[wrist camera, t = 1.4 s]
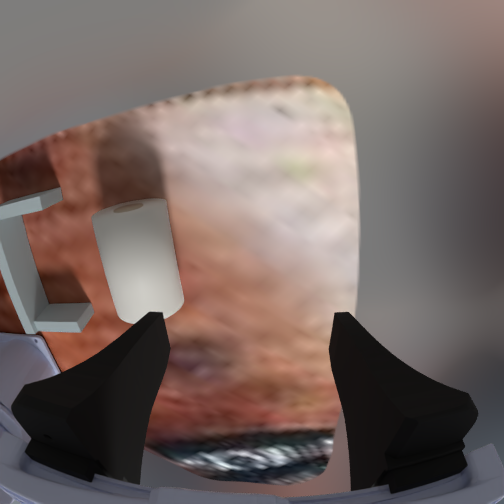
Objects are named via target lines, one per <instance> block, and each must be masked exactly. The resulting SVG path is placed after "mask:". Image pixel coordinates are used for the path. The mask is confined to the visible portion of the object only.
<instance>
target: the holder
mask: <svg viewBox="0 0 504 504" xmlns="http://www.w3.org/2000/svg"><path fill="white" fill-rule="evenodd" d="M61 200H63V198H62V192H61V187H60V188H55V189H51V190H47V191H43V192H39V193H35V194H31V195H28V196H24V197H20V198H17V199H13V200H10V201H7V202H5V203H3V204H0V270H1V273H2V276H3V279H4V281H5V284H6V287H7V289H8V292H9V295H10V297H11V300H12V302H13V305H14V307H15V309H16V312H17V314H18V317H19V319H20V321H21V323H22V325H23V328H24V330H25V332H26V334H36V333H37V332H38V331H48V332H82V330H83V329H84V327H85V326H86V324H87V323H88V321H89V320H90V318H91V317H92V315H93V314H94V310H93V307H92V304H91V303H64V304H49V302H48V300H47V297H46V294H45V291H44V289H43V286H42V283H41V280H40V277H39V274H38V271H37V268H36V265H35V262H34V259H33V255H32V252H31V248H30V245H29V241H28V238H27V234H26V230H25V226H24V222H23V218H22V215H23V214H27V213H32V212H36V211H41V210H44V209H45V208H47V207H49V206H51V205H53V204H55V203H57V202H59V201H61Z"/></svg>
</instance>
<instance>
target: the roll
mask: <svg viewBox="0 0 504 504" xmlns="http://www.w3.org/2000/svg"><path fill="white" fill-rule="evenodd" d="M91 218H92V223H93V227H94V232H95V236H96V240H97V244H98V248H99V252H100V256H101V260H102V264H103V267H104V271H105V275H106V278H107V281H108V285H109V288H110V292H111V295H112V298H113V301H114V304H115V308H116V311H117V314H118V316H119V317H120V319H122V320H123V321H125V322H128V323H132V324H135V323H136V322H137V321H139V320H140V319H141V318H142V317H143V316H144V315H146V314H147V313H148V312H163V316H164V319H165V318H167V317H169V316H171V315H173V314H174V313H175V312H177V311H178V310H179V309H180V308H181V306H182V305H183V303H184V296H183V291H182V286H181V281H180V276H179V271H178V266H177V261H176V255H175V250H174V244H173V239H172V233H171V227H170V221H169V215H168V209H167V202H166V200H165V199H161V198H149V199H141V200H134V201H129V202H125V203H121V204H117V205H114V206H111V207H108V208H105V209H103V210H100V211H98V212H97V213H95V214H94V215H93V216H92V217H91Z"/></svg>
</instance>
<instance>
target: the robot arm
mask: <svg viewBox="0 0 504 504" xmlns="http://www.w3.org/2000/svg"><path fill="white" fill-rule="evenodd" d="M169 353H170V344H169V339H168V335H167V330H166V326H165V321H164V316H163V312H148V313H147V314H146V315H144V316H143V317H142V318H141V319H140V320H139V321H137V322H136V323H135V324H134V325H133V326H132V327H130V328H129V329H128V330H127V331H126V332H125V333H123V334H122V335H121V336H120V337H119V338H117V339H116V340H115V341H113V342H112V343H111V344H109V345H108V346H107V347H106V348H104V349H103V350H101V351H100V352H98V353H97V354H95V355H94V356H92V357H91V358H89V359H87V360H86V361H84V362H82V363H80V364H78V365H76V366H74V367H72V368H70V369H68V370H66V371H64V372H62V373H61V372H60V370H59V368H58V366H57V364H56V362H55V361H54V359H53V357H52V355H51V353H50V351H49V349H48V347H47V345H46V342H45V340H44V339H43V337H42V336H40V335H26V334H12V333H0V504H12V502H14V500H16V501H18V502H20V503H21V504H496V503H497V502H498V501H500V500H501V499H502V498H504V467H503V465H502V463H501V461H500V458H499V456H498V454H497V451H496V449H495V447H494V445H493V444H488V445H486V446H484V447H481V448H479V449H476V450H474V451H472V452H470V453H468V454H467V455H465V456H464V454H463V452H462V450H463V449H464V448H465V445H464V442H463V440H462V439H463V438H464V437H465V435H466V434H467V433H468V431H469V430H470V429H471V428H472V426H473V425H474V423H475V422H476V420H477V416H478V410H477V408H476V406H475V405H474V403H473V401H472V400H471V397H470V395H469V394H468V393H466V392H463V391H460V390H457V389H454V388H451V387H448V386H446V385H444V384H441V383H439V382H437V381H435V380H432V379H431V378H429V377H427V376H425V375H423V374H421V373H420V372H418V371H416V370H414V369H413V368H411V367H410V366H408V365H407V364H405V363H404V362H402V361H401V360H400V359H398V358H397V357H396V356H394V355H393V354H392V353H390V352H389V351H388V350H387V349H386V348H385V347H383V346H382V345H381V344H380V343H379V342H378V341H377V340H376V339H375V338H374V337H373V336H372V335H371V334H370V333H369V332H367V330H366V329H365V328H364V327H363V326H362V325H361V324H360V323H359V322H358V321H357V320H356V319H355V318H354V317H353V316H352V315H351V314H350V313H349V312H337V313H335V314H334V320H333V327H332V333H331V339H330V345H329V355H330V362H331V368H332V373H333V376H334V380H335V384H336V387H337V391H338V394H339V398H340V401H341V405H342V409H343V413H344V418H345V424H346V431H347V438H348V449H349V460H350V477H351V491H349V492H342V493H334V494H326V495H316V496H303V497H285V498H283V497H279V496H275V495H266V494H247V493H246V494H245V493H225V492H211V491H200V490H192V489H183V488H174V487H160V488H152V487H147V486H142V485H140V475H141V465H142V457H143V450H144V444H145V438H146V432H147V427H148V422H149V418H150V414H151V410H152V407H153V404H154V401H155V399H156V396H157V393H158V390H159V387H160V385H161V382H162V379H163V376H164V373H165V371H166V368H167V363H168V359H169ZM28 435H29V436H30V437H29V436H28Z"/></svg>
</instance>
